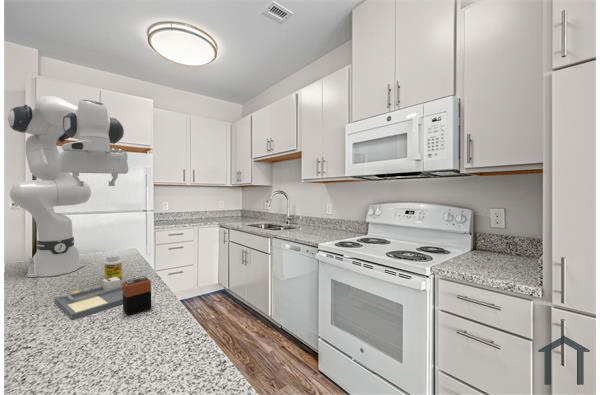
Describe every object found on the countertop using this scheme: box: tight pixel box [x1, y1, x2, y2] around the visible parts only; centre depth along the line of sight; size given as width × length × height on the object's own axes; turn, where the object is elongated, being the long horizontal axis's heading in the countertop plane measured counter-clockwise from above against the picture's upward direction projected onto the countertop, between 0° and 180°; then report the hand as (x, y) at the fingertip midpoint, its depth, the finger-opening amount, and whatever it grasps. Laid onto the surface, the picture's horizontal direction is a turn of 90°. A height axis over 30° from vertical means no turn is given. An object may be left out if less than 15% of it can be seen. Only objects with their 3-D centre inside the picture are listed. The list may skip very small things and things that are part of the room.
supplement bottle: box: [104, 254, 123, 282], centre depth 109 cm, size 6×6×10 cm
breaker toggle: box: [102, 277, 122, 291], centre depth 98 cm, size 4×4×4 cm
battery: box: [121, 275, 152, 316], centre depth 86 cm, size 4×7×10 cm, turn 137°
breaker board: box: [54, 283, 123, 321], centre depth 93 cm, size 18×18×3 cm
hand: (96, 186), depth 100 cm, fingers open, 8 cm apart
